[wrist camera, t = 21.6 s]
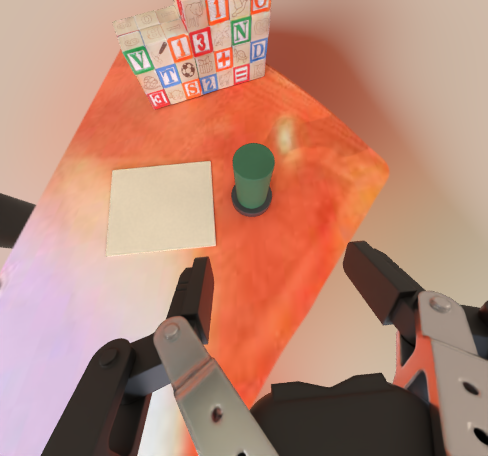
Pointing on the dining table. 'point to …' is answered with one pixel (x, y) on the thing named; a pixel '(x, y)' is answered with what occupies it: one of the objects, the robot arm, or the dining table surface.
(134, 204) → the napkin
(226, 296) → the dining table surface
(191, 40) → the stack of blocks
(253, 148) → the green cylinder with base
